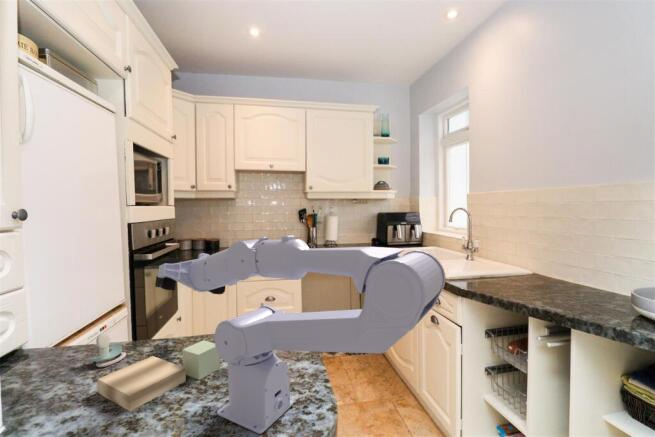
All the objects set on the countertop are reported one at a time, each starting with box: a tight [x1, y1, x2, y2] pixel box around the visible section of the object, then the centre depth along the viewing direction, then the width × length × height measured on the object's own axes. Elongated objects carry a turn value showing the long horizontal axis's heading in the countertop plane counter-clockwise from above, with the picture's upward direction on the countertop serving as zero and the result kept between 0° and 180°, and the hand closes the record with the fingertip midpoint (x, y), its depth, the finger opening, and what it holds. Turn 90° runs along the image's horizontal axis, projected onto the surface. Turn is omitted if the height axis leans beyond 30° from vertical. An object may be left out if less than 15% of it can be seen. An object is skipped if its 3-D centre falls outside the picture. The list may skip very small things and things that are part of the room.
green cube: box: [181, 339, 221, 381], centre depth 61 cm, size 5×5×5 cm
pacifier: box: [85, 332, 127, 368], centre depth 67 cm, size 7×6×6 cm
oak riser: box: [96, 355, 187, 412], centre depth 56 cm, size 11×10×3 cm
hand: (177, 283), depth 60 cm, fingers open, 7 cm apart
